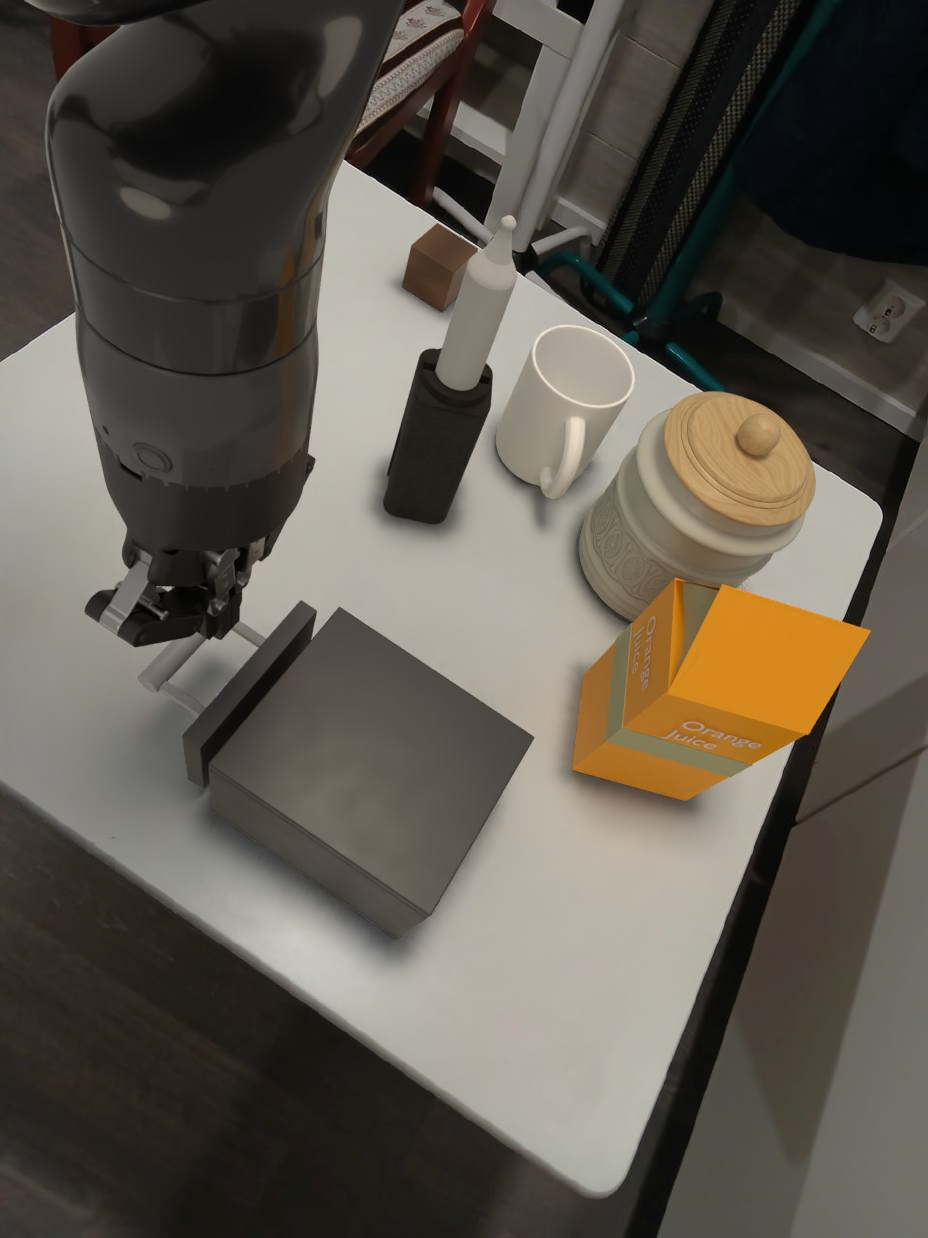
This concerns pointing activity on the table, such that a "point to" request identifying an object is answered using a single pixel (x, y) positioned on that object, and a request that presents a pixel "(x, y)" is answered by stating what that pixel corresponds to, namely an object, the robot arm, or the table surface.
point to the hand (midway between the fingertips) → (213, 621)
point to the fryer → (367, 773)
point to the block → (437, 266)
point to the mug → (563, 406)
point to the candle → (452, 391)
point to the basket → (229, 684)
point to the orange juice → (707, 688)
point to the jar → (697, 501)
